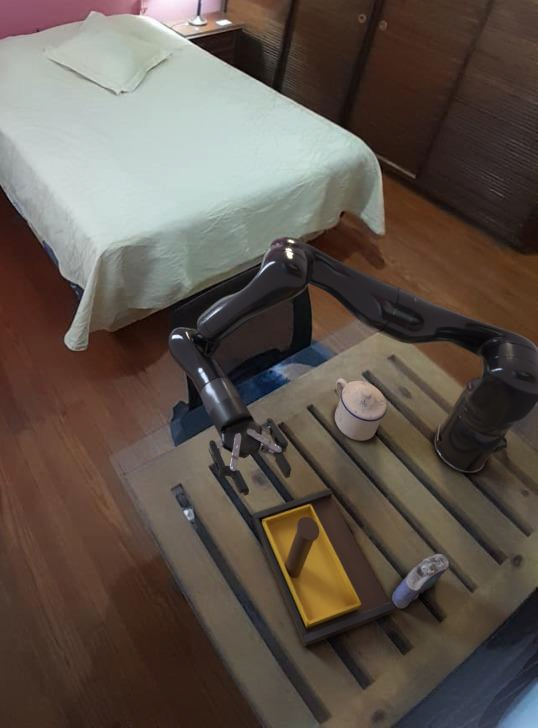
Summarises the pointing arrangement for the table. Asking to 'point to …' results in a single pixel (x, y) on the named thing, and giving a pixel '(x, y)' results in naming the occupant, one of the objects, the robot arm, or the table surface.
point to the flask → (420, 579)
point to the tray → (310, 566)
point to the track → (349, 558)
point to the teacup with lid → (359, 409)
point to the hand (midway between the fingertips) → (268, 484)
